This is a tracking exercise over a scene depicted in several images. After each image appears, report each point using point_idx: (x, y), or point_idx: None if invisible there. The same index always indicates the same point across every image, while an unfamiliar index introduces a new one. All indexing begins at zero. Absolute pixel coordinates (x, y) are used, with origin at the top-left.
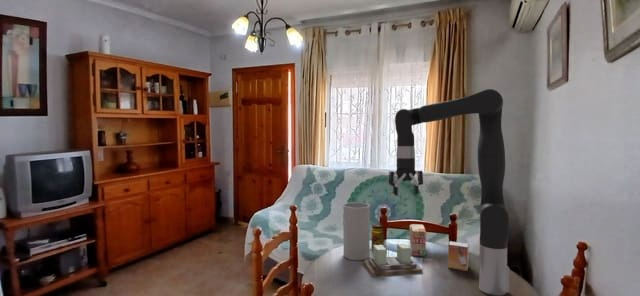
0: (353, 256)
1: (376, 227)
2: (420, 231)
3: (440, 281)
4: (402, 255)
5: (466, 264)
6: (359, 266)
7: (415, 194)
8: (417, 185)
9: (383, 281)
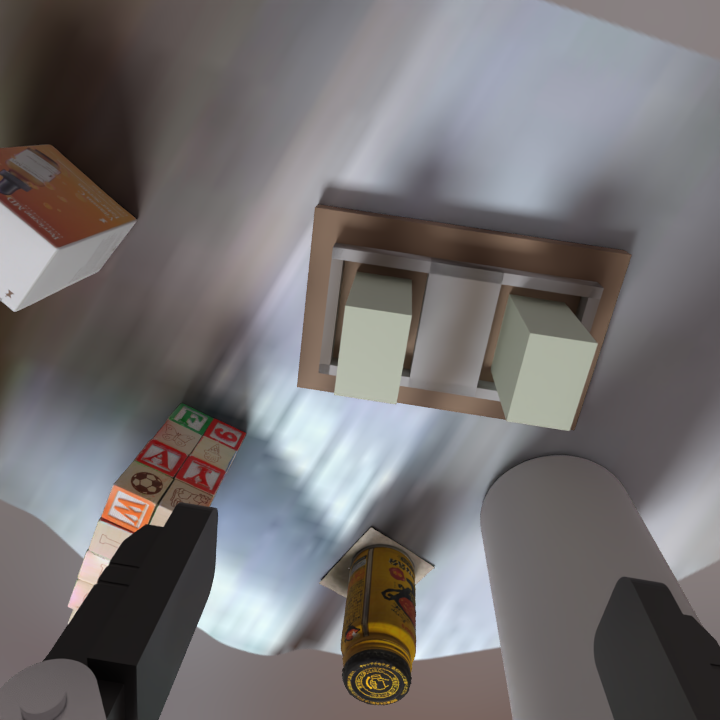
0: (612, 478)
1: (396, 661)
2: (149, 499)
3: (281, 58)
4: (409, 299)
5: (29, 149)
6: (614, 391)
7: (213, 517)
8: (63, 682)
9: (605, 165)
